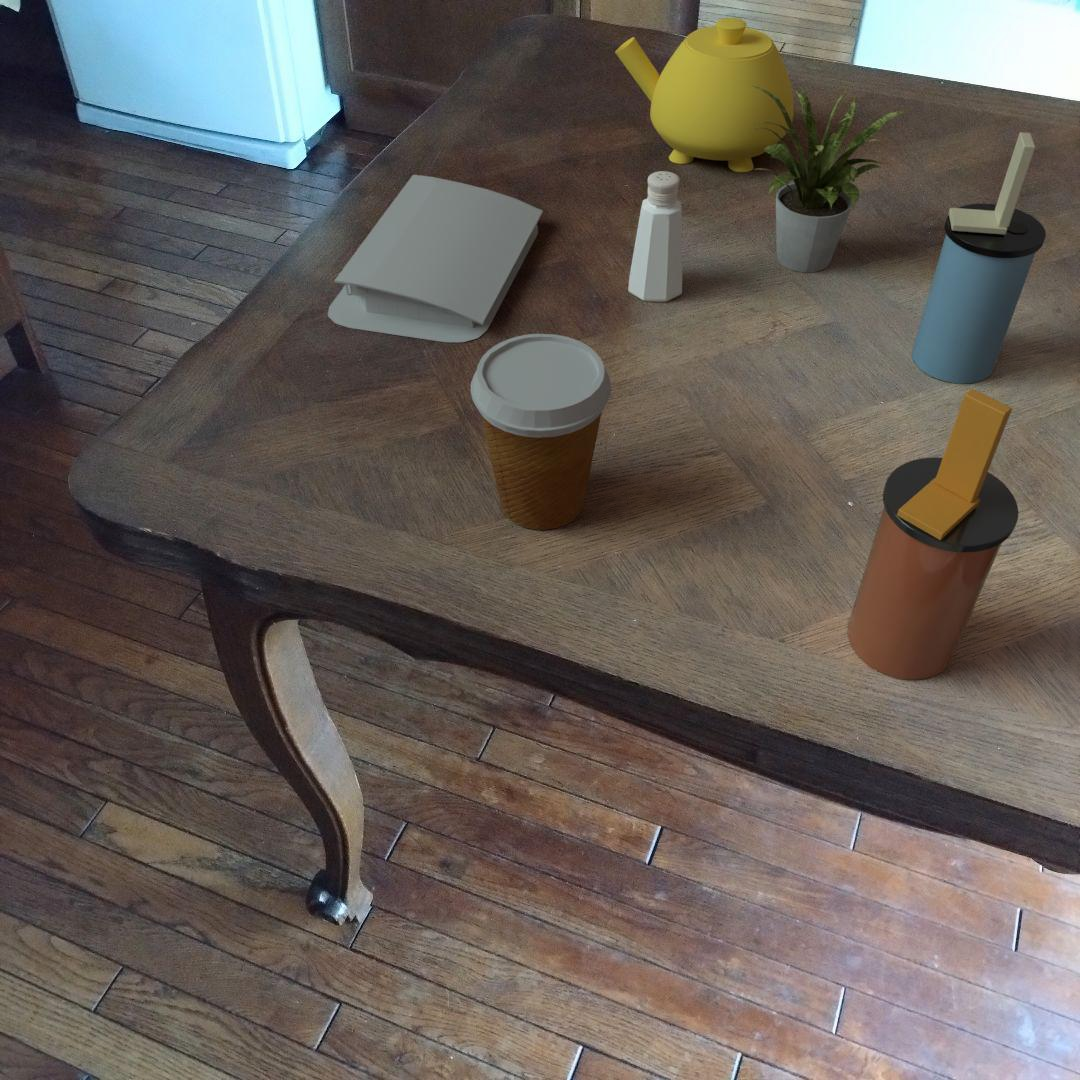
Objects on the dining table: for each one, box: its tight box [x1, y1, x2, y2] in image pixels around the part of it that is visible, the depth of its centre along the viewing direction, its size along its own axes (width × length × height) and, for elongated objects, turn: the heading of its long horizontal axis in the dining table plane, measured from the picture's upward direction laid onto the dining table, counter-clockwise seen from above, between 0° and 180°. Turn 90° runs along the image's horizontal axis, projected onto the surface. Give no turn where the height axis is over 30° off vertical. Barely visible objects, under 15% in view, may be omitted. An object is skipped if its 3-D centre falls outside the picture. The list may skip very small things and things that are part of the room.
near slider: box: [897, 388, 1013, 540], centre depth 58 cm, size 4×3×7 cm
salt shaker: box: [627, 170, 683, 303], centre depth 96 cm, size 5×5×11 cm
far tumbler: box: [911, 203, 1047, 385], centre depth 87 cm, size 7×7×13 cm
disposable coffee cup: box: [470, 333, 612, 531], centre depth 75 cm, size 10×10×12 cm
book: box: [327, 174, 544, 344], centre depth 101 cm, size 15×23×4 cm, turn 165°
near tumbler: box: [847, 456, 1019, 681], centre depth 65 cm, size 7×7×13 cm
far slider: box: [948, 131, 1036, 235], centre depth 80 cm, size 4×3×7 cm
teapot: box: [614, 17, 795, 173], centre depth 115 cm, size 20×16×14 cm
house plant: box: [751, 85, 908, 273], centre depth 97 cm, size 14×14×16 cm
